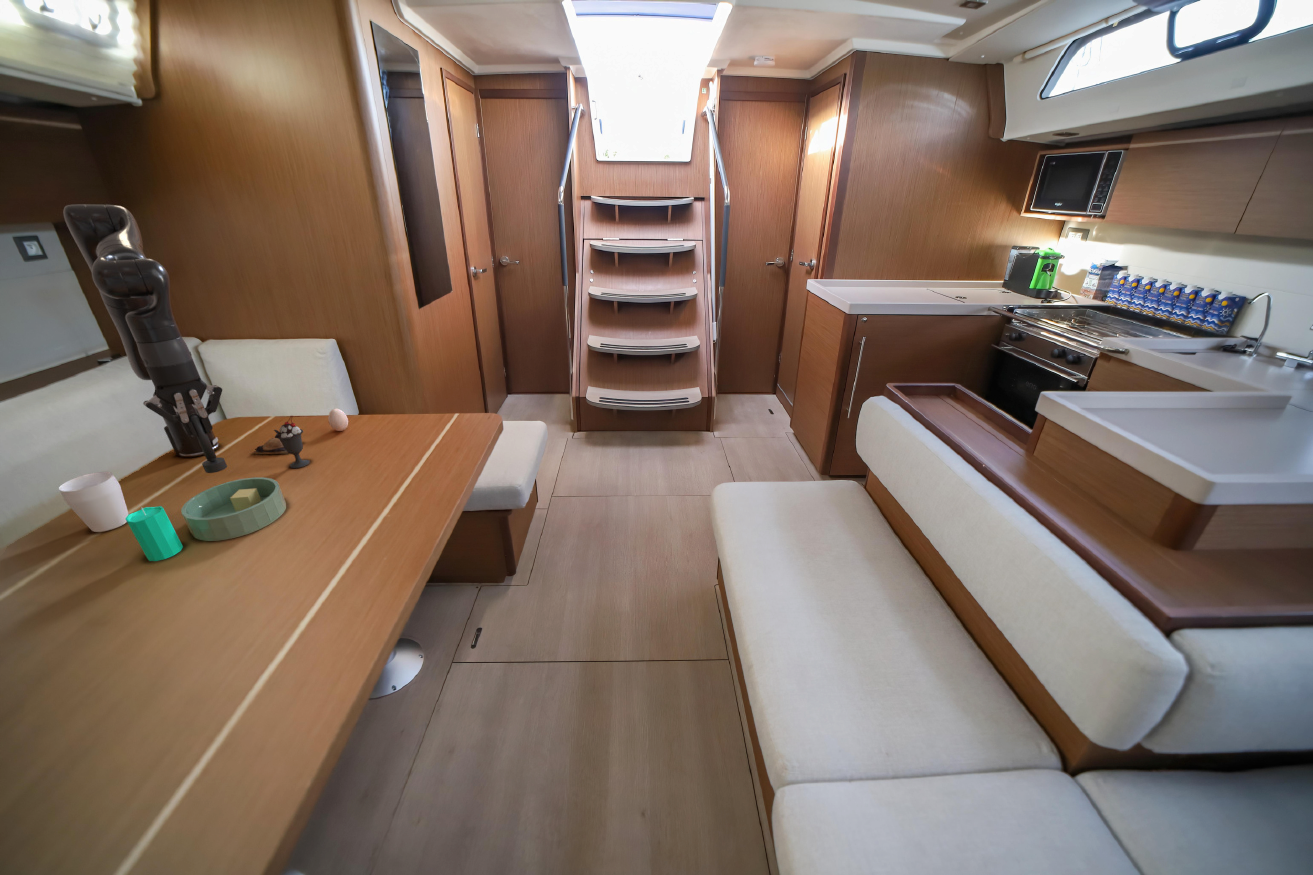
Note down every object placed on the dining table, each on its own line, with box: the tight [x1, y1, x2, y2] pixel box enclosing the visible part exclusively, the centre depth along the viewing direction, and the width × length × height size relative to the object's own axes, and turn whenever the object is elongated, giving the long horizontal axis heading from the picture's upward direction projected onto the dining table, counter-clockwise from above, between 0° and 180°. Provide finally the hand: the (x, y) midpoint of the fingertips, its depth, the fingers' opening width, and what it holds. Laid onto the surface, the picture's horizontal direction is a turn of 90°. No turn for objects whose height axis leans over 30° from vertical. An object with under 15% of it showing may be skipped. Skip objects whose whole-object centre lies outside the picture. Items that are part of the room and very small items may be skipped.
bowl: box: [180, 476, 287, 542], centre depth 122 cm, size 19×19×6 cm
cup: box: [58, 471, 130, 533], centre depth 117 cm, size 9×9×12 cm
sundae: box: [273, 415, 310, 469], centre depth 144 cm, size 7×7×15 cm
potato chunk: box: [230, 488, 261, 511], centre depth 125 cm, size 4×4×4 cm
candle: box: [126, 505, 184, 562], centre depth 108 cm, size 6×6×12 cm
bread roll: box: [254, 437, 289, 455], centre depth 155 cm, size 11×8×4 cm
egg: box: [327, 408, 349, 432], centre depth 166 cm, size 6×6×8 cm
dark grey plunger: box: [188, 413, 228, 474], centre depth 113 cm, size 4×4×14 cm
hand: (200, 434), depth 112 cm, fingers closed on dark grey plunger, 2 cm apart
